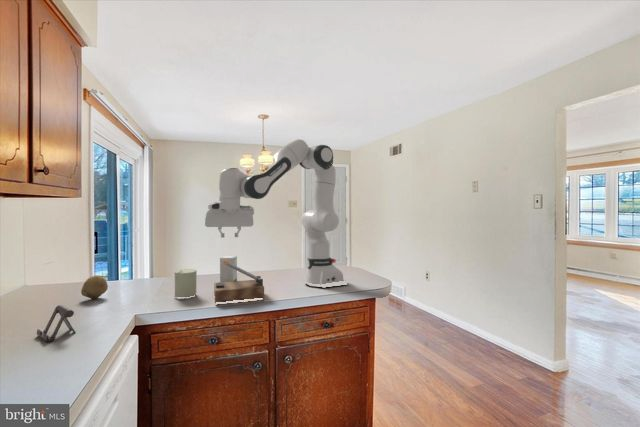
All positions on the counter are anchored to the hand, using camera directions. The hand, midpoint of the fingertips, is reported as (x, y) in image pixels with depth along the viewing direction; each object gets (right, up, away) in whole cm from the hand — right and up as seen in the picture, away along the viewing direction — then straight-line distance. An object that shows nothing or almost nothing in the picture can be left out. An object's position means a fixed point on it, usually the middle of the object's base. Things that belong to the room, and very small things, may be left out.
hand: (229, 237), depth 135 cm
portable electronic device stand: (-42, -28, -38) cm, 64 cm away
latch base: (+3, -27, +2) cm, 27 cm away
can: (-21, -27, +4) cm, 34 cm away
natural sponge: (-57, -27, -1) cm, 63 cm away
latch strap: (+5, -16, +2) cm, 17 cm away
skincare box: (-6, -27, +19) cm, 33 cm away
